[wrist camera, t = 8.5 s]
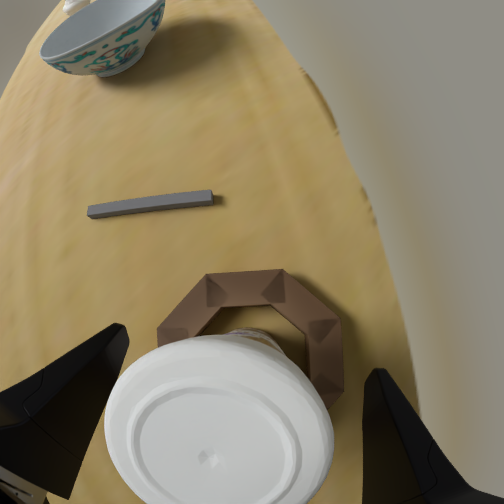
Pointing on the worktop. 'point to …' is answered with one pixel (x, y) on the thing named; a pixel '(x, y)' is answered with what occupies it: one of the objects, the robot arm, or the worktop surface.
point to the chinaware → (103, 37)
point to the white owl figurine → (74, 6)
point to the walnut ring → (283, 301)
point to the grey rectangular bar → (151, 204)
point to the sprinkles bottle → (219, 424)
